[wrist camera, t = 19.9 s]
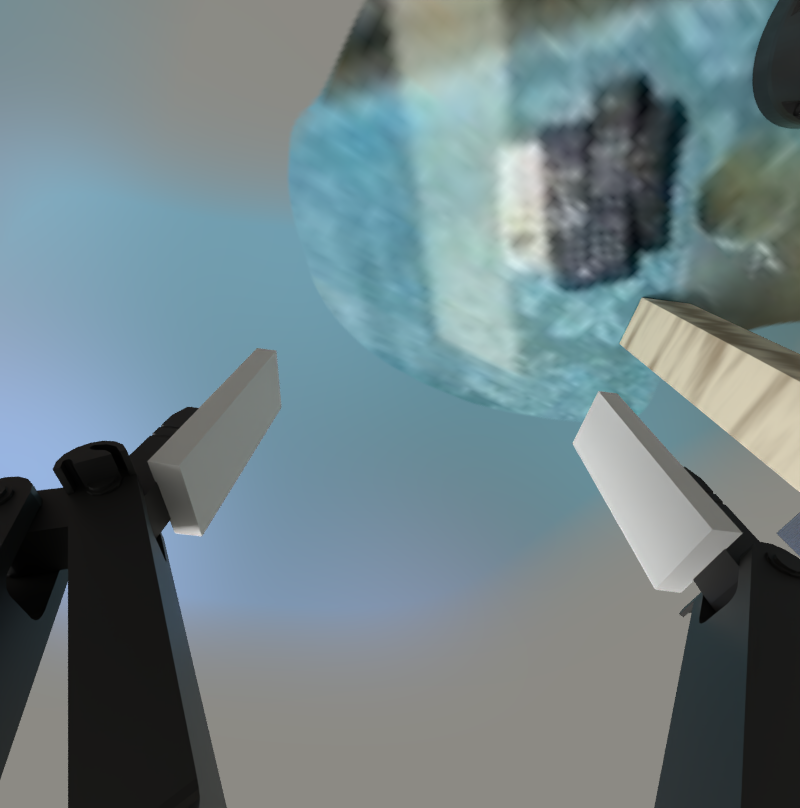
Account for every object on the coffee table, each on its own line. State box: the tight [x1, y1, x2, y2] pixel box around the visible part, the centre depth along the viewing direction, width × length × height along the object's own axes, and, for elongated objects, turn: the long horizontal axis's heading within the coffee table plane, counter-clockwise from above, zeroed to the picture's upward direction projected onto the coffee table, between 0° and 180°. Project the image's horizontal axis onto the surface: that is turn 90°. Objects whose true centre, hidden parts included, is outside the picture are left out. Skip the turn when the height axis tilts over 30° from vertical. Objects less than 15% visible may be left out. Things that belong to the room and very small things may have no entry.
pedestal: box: [619, 298, 800, 492], centre depth 36 cm, size 8×8×36 cm
